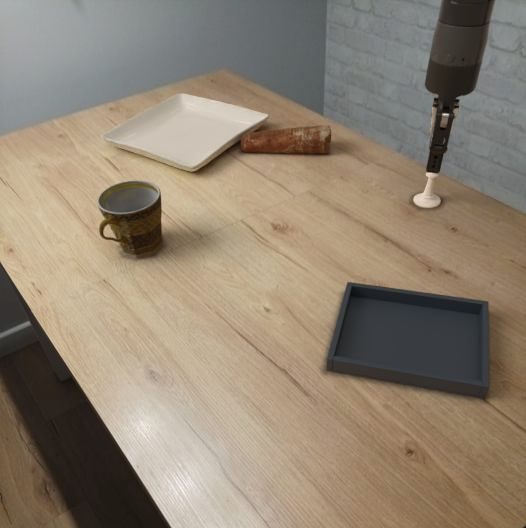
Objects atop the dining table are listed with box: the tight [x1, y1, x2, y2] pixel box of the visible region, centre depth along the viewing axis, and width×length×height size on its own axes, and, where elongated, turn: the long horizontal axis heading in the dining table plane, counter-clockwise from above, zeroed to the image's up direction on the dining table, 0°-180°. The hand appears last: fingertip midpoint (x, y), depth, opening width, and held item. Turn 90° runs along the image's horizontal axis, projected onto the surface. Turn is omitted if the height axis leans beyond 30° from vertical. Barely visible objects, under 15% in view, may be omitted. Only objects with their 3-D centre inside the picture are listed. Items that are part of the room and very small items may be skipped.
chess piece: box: [412, 171, 442, 209], centre depth 90 cm, size 5×5×10 cm
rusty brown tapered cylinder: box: [240, 124, 332, 155], centre depth 108 cm, size 6×19×6 cm, turn 82°
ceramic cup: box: [96, 179, 163, 260], centre depth 84 cm, size 13×10×10 cm
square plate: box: [99, 92, 270, 172], centre depth 114 cm, size 27×27×4 cm
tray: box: [325, 281, 490, 400], centre depth 69 cm, size 20×16×3 cm
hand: (433, 159), depth 87 cm, fingers open, 8 cm apart
